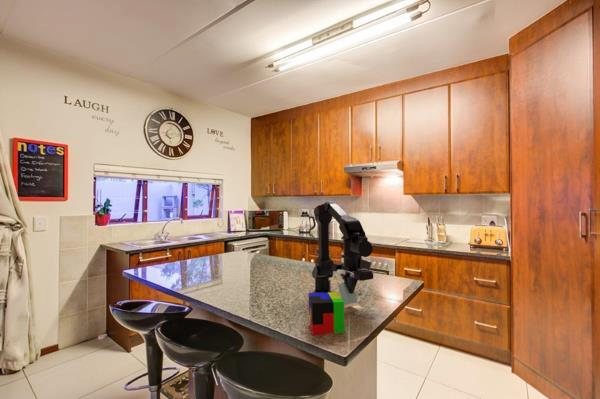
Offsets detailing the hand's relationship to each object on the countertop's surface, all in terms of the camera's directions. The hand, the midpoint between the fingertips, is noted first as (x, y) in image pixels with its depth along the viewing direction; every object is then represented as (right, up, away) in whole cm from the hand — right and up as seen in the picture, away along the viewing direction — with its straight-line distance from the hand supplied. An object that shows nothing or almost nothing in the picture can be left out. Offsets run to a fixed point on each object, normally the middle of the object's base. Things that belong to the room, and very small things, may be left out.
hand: (351, 293), depth 109 cm
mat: (-2, -6, +4) cm, 8 cm away
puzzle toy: (-11, -7, -15) cm, 20 cm away
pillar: (0, -5, 0) cm, 5 cm away
